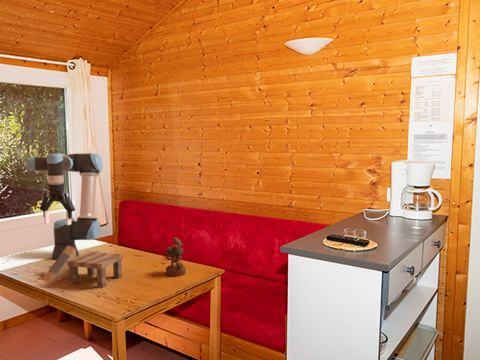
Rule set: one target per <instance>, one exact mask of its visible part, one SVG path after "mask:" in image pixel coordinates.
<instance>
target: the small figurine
mask: <svg viewBox="0 0 480 360" xmlns="http://www.w3.org/2000/svg"><path fill="white" fill-rule="evenodd" d="M172 240H173V243H174V245H171V246H168V247H167V248H166V249H165V254H166V255H167V256H164V255H163V258H165V259H166V260H169V261H171V262H170V265H168V266H166V268H165V275H166V277H171V278H176V277H178V278H179V277H182V276H184V275H186V274H187V273H186V271H187V270H186V268H187V267H186V266H184V263H183V262H182V261H181V260H183V257H182V255H183V254H184V248H183V247H182V246H184V245H185V244H183V242H182V241H181V239H179V238H178V237H174V238H173V239H172Z"/></svg>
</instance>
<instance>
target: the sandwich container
mask: <svg viewBox="0 0 480 360" xmlns="http://www.w3.org/2000/svg"><path fill="white" fill-rule="evenodd" d="M73 258H76V248H74V247H70V246H66V248H65V249H64V251H63V252H62V253H61V255H60V256H59V257H58V259H57V260H56V259H55V262H54V263H53V264H52V265H51V267H50V268H49V269H48V270H47V272H46V274H44V276H43V277H42V278H41V280H42V281H44V282H47V283H52V282H56V281H60V280H63V279H67V278H68V279H69V266H67V261H68V260H71V259H73Z"/></svg>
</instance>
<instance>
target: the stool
mask: <svg viewBox="0 0 480 360" xmlns="http://www.w3.org/2000/svg"><path fill="white" fill-rule="evenodd" d="M123 257H124V256H123V254H121V253H111V252H110V253H109V252H97V251H88V252H86V253H83V254H81V255H78V256H77V257H76V258H73V259H71V260H68V261H67V266H69V277H68V279H69V285H73V286H75V285H77V284H79V283H80V281H79V268H84V269H85V268H86V270H87V271H86V272H87V276H88V275H89V276H91V277H93V276H95V275H96V287H97V288H101V289H103V288H106V286H107V278H106V277H107V276H106V275H107V274H106V271H107V270H106V268H107V267H109V266H111V265H112V266H113V270H112V271H113V272H112V273H113V279H116V280H117V279H121V278H122V277H123V273H122V272H123V270H122V268H123V267H122V259H123ZM89 276H88V277H89Z"/></svg>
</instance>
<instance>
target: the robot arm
mask: <svg viewBox="0 0 480 360" xmlns="http://www.w3.org/2000/svg"><path fill="white" fill-rule="evenodd" d="M26 167H27V169H28V170H29V171H31V172H47V183H48V185H47V190H48V191H47V192H46V191H45V192H44V193H43V198H42V201H41V204H40V206H39V210H40V211H42V212H43V218H44V225H48V224H50V210H49V209H50V208H51V206H52V205H53V202H54V203H55V202H56V203H58V202H59V203H60V204H61V205H62V207H63V208H64V209H65V210H66V213H65V218H64V219H59V220H56V221H54V223H53V239H54V245H53V246H54V247H53V250H52V253H51V259H53V260H55V261H56V260H57V259H58V257H59V256H60V255H61V253H62V252H63V251H64V249H65V248H66V246H70V247H74V248H76V257H78V256H80V255H79V254H80V253H79V250H78V247H77V245H76V241H90V240H91V241H93V240H95V239H97V238H98V237H99V234H100V231H101V223H100V220H98V217H97V216H96V214H95V213H96V212H95V211H96V189H97V178H98V177H99V175H100V173H101V172H102V171H103V167H104V165H103V160H102V158H101V156H100V154H98V153H92V152H89V153H88V152H87V153H71V154H69V153H68V154H65V155H64V154H62V153H48V154H47V155H46V156H32V157H30V156H29V157H28V158H27V160H26ZM64 172H72V173H79V174H78V175H80V177H81V184H80V185H81V186H80V189H81V190H80V202H79V203H80V207H79V209H80V210H79V216H77V218H76V220H75V219H74V218H73V212H75V211H76V208H75V205H74V204H73V201H72V199H71V197H70V193H69V192H65V193H64V191H65V184H64V182H65V180H64Z"/></svg>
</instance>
